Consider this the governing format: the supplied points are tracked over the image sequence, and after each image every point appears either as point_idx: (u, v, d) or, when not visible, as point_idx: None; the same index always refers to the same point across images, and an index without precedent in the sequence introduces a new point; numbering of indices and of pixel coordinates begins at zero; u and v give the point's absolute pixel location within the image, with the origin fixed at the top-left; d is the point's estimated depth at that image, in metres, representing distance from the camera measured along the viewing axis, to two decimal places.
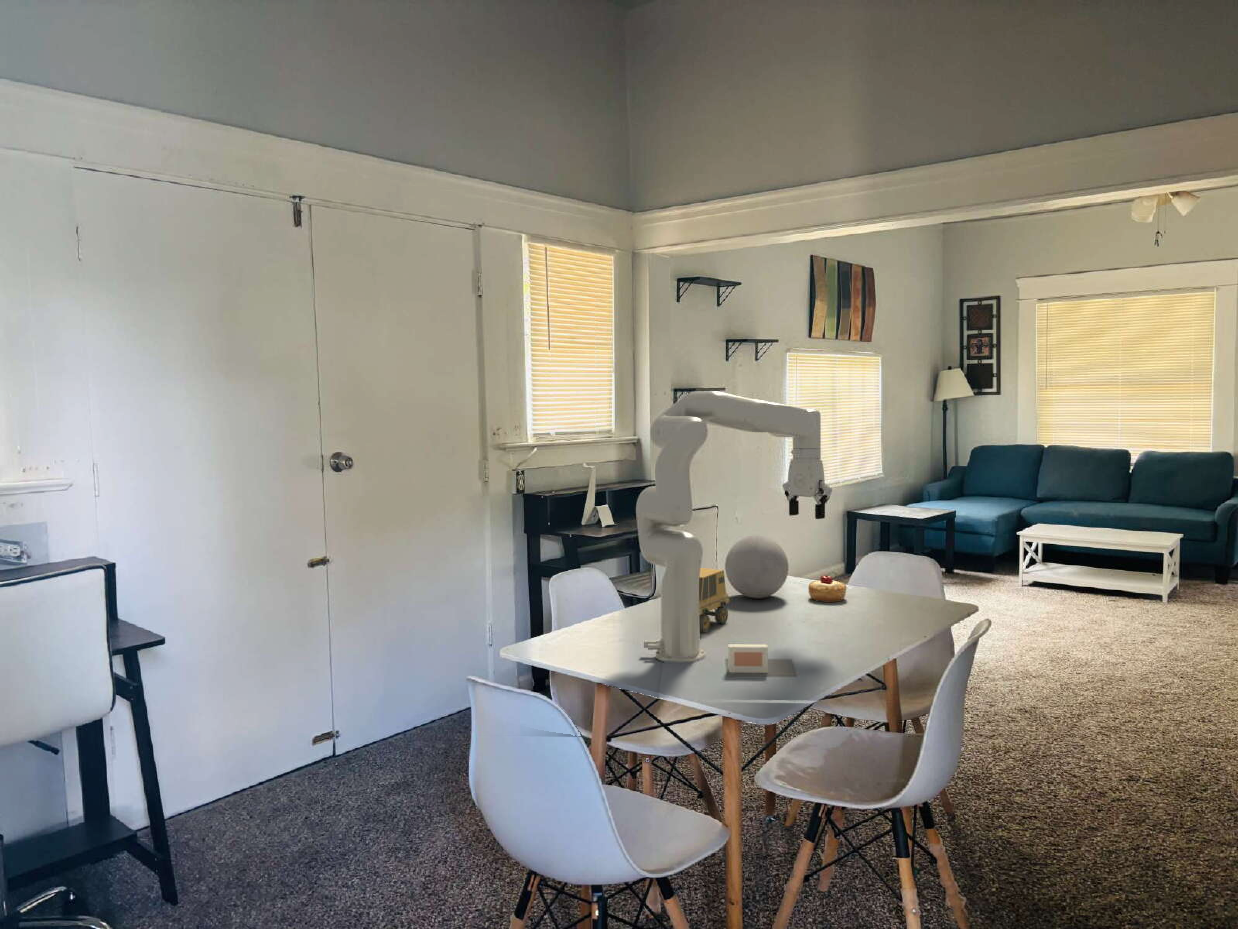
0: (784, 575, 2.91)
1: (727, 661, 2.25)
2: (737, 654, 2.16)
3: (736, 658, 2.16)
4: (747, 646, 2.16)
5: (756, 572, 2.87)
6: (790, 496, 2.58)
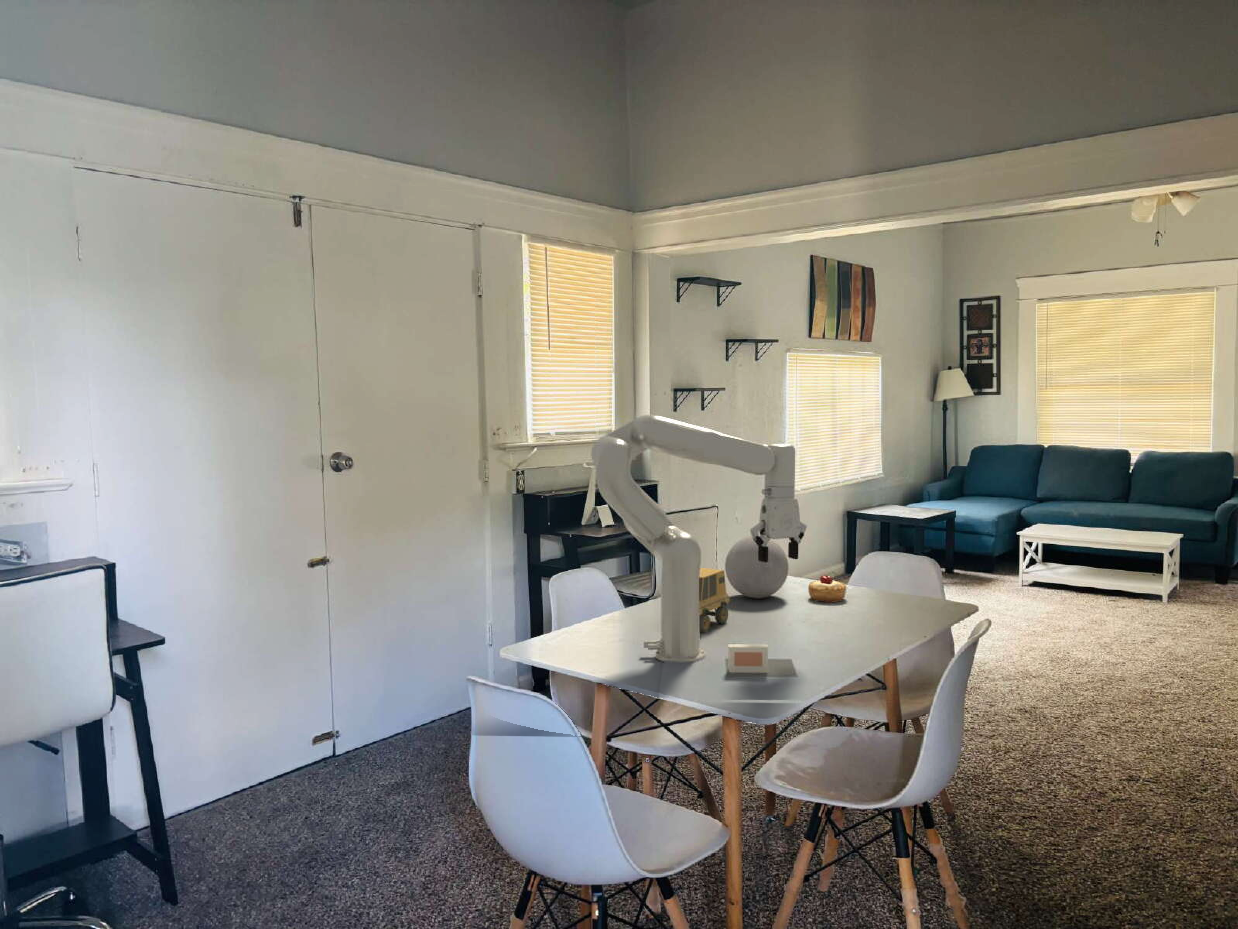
0: (784, 575, 2.91)
1: (727, 661, 2.25)
2: (737, 654, 2.16)
3: (736, 658, 2.16)
4: (747, 646, 2.16)
5: (756, 572, 2.87)
6: (766, 541, 2.32)
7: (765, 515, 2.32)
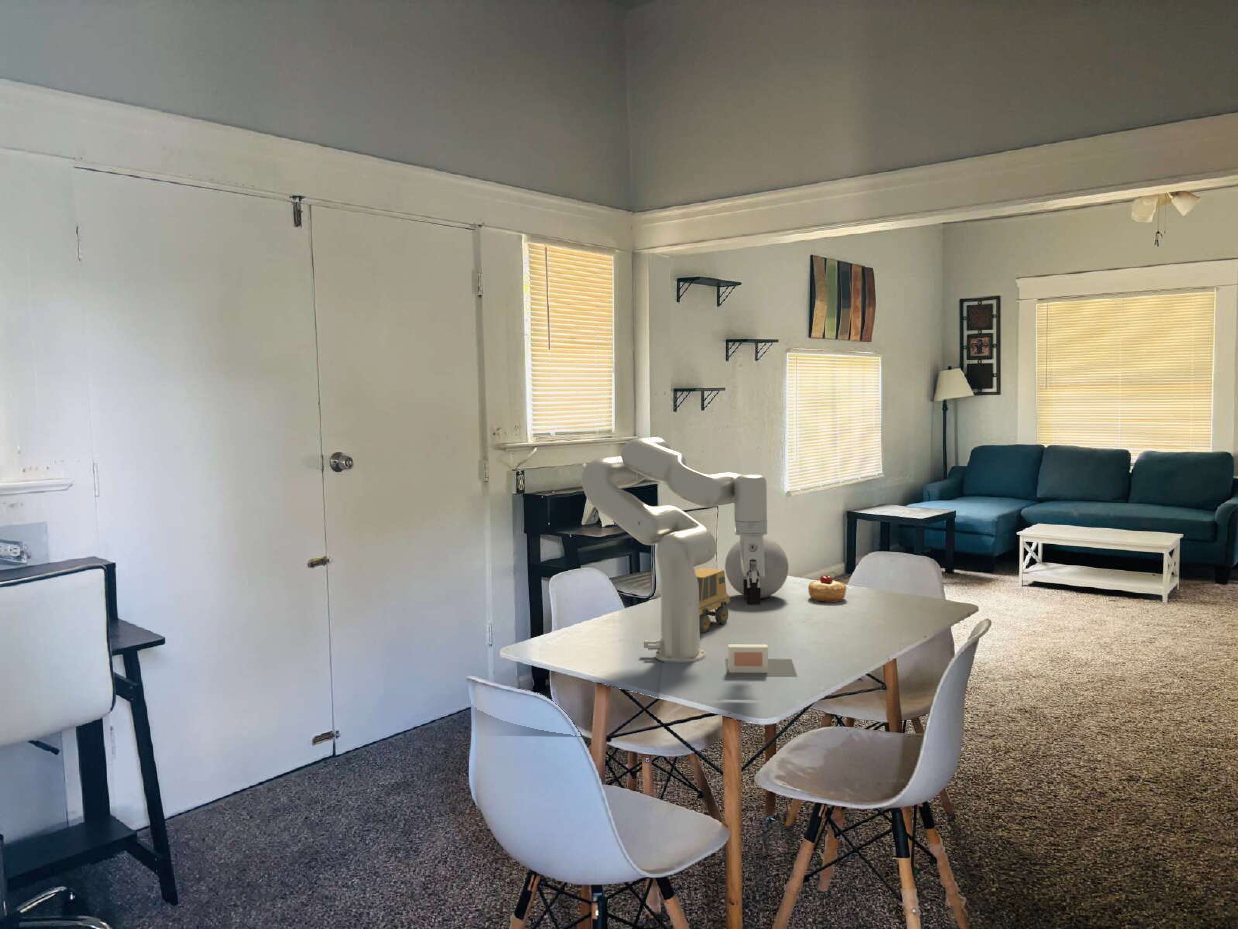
0: (784, 575, 2.91)
1: (727, 661, 2.25)
2: (737, 654, 2.16)
3: (736, 658, 2.16)
4: (747, 646, 2.16)
5: None
6: None
7: (756, 554, 2.12)
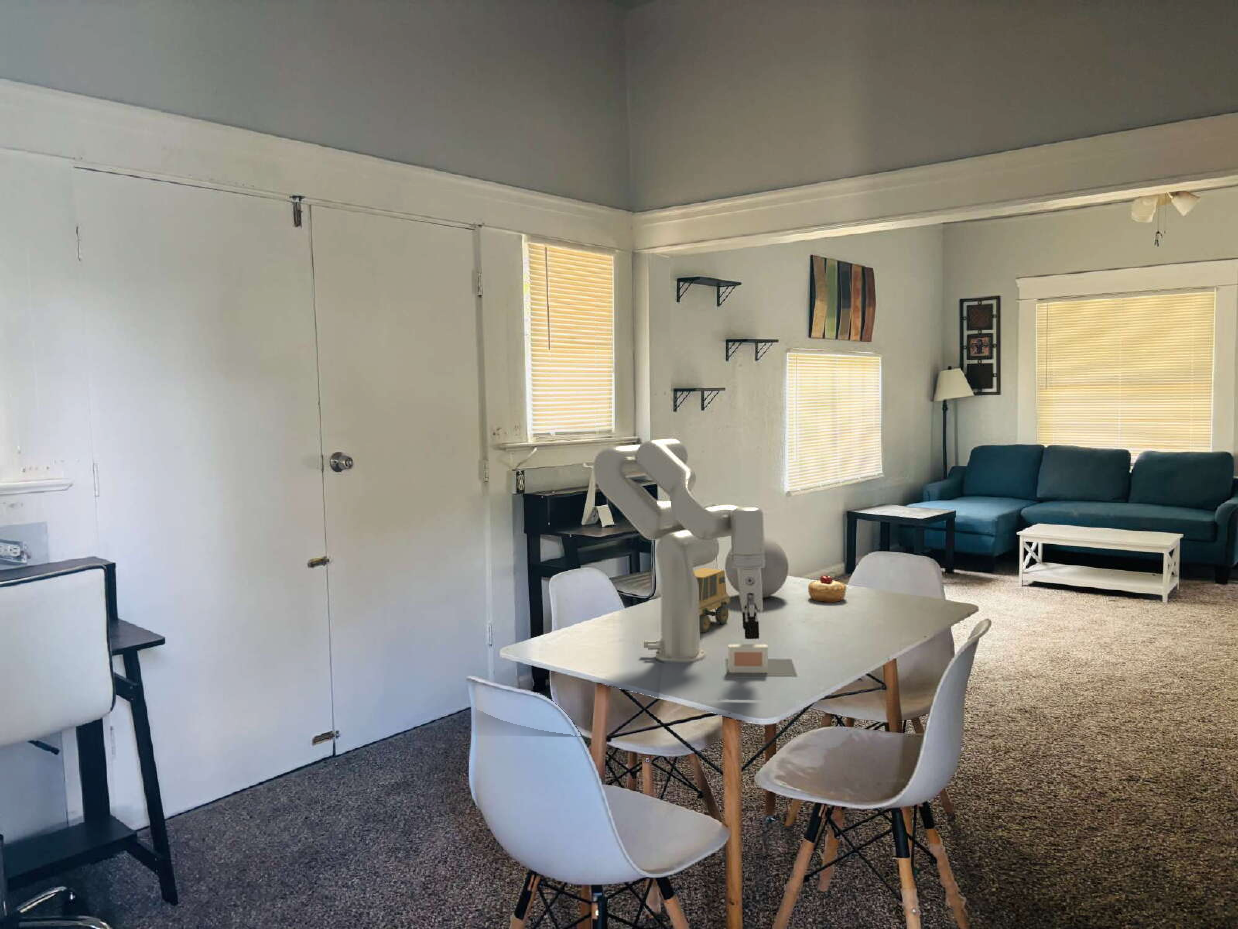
0: (784, 575, 2.91)
1: (727, 661, 2.25)
2: (737, 654, 2.16)
3: (736, 658, 2.16)
4: (747, 646, 2.16)
5: None
6: None
7: (753, 587, 2.11)
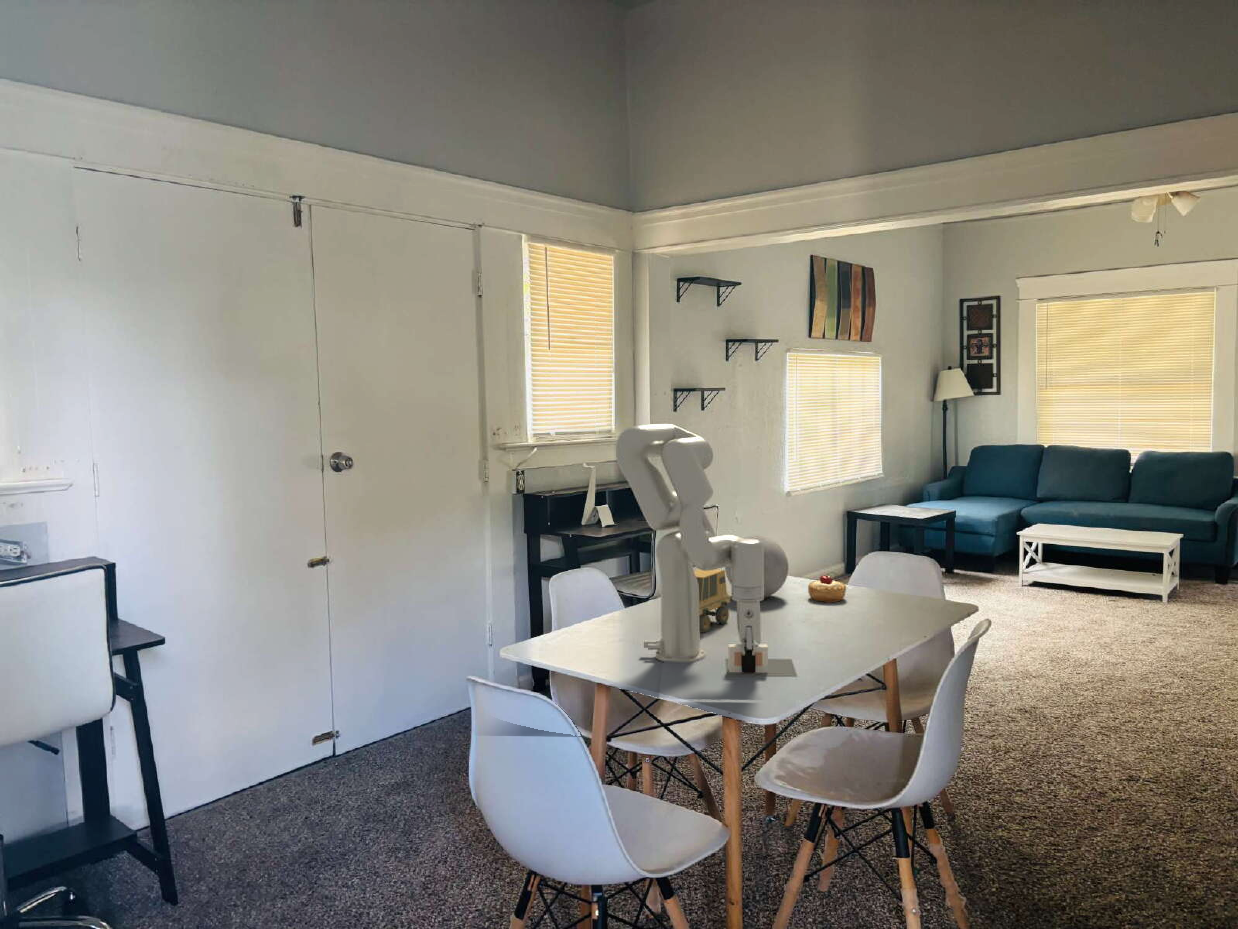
0: (784, 575, 2.91)
1: (727, 661, 2.25)
2: (737, 654, 2.16)
3: (736, 658, 2.16)
4: None
5: None
6: None
7: (752, 620, 2.11)
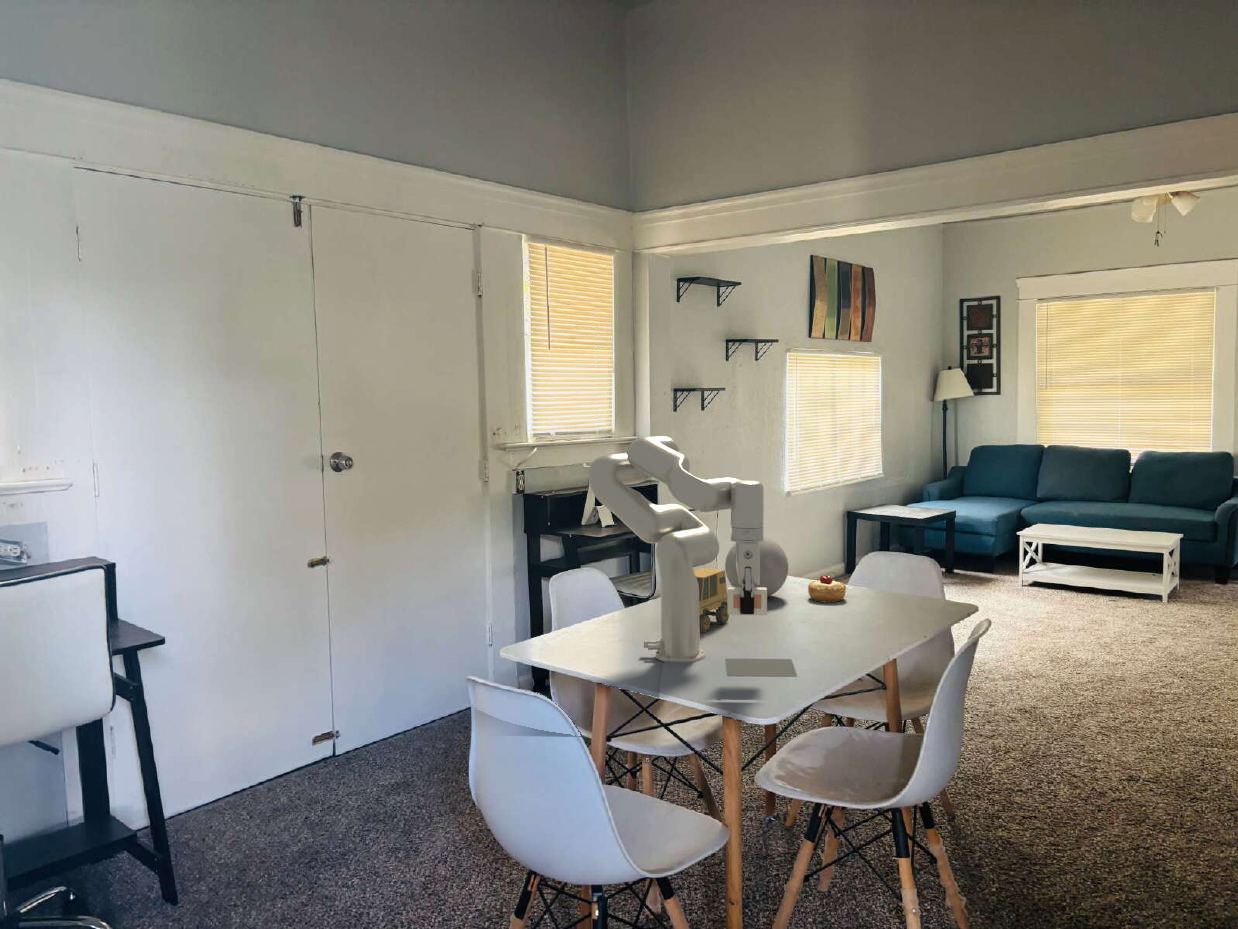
0: (784, 575, 2.91)
1: (727, 661, 2.25)
2: (736, 596, 2.15)
3: (735, 600, 2.15)
4: None
5: None
6: None
7: (751, 561, 2.10)
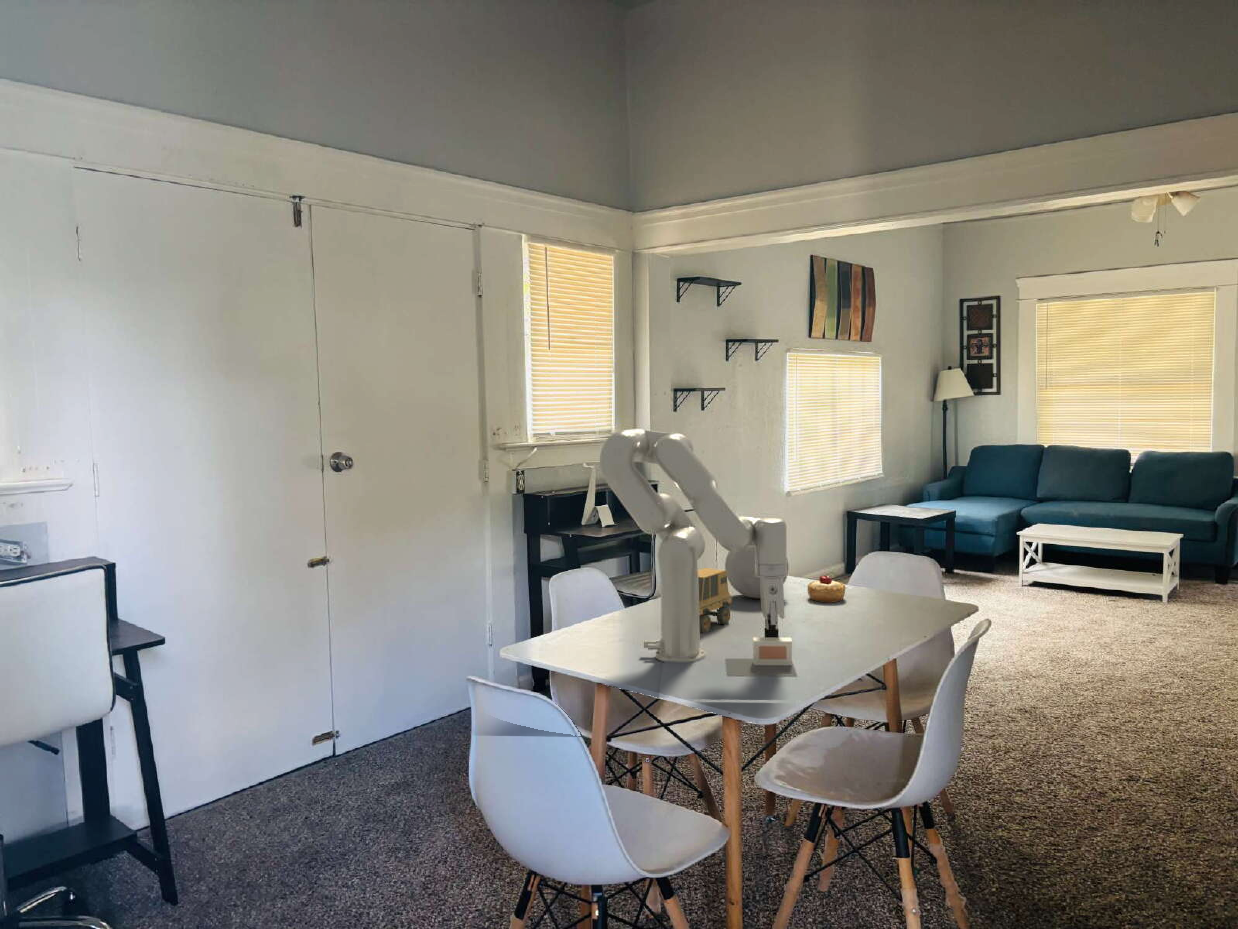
0: None
1: (727, 661, 2.25)
2: (762, 648, 2.21)
3: (761, 652, 2.21)
4: (772, 640, 2.21)
5: None
6: (777, 623, 2.23)
7: (776, 596, 2.19)
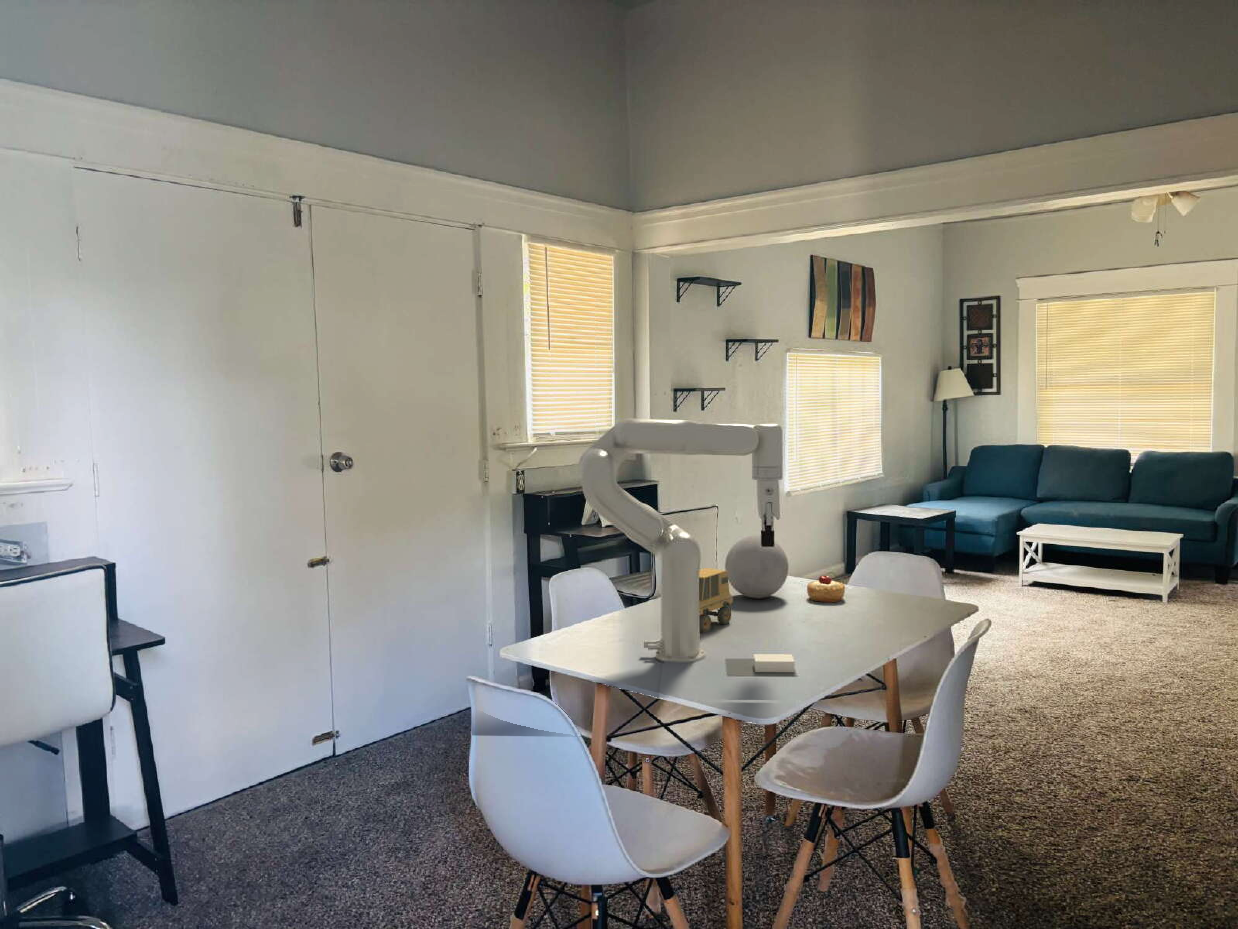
0: (784, 575, 2.91)
1: (727, 661, 2.25)
2: None
3: None
4: (774, 669, 2.16)
5: (756, 572, 2.87)
6: None
7: (772, 497, 2.27)
